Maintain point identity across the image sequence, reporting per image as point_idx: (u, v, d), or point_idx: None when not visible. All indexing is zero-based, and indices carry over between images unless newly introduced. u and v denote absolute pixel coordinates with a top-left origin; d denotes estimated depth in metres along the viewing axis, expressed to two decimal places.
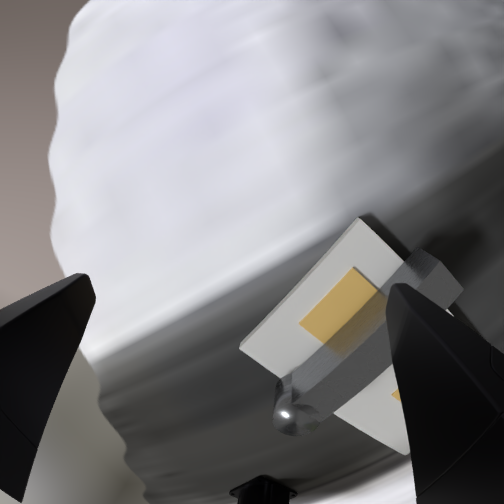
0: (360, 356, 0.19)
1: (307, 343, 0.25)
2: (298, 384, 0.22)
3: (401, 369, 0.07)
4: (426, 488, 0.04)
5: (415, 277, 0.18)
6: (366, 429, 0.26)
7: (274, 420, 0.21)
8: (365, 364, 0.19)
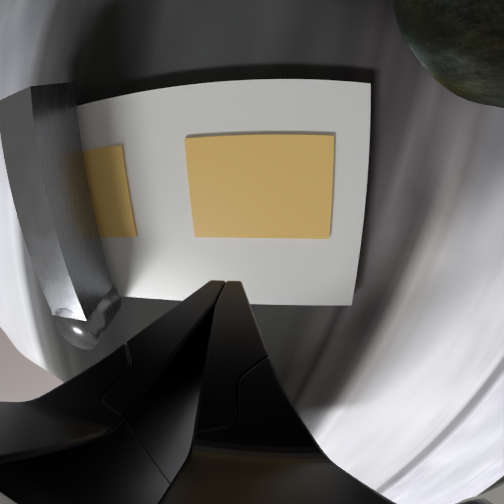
0: (29, 233, 0.15)
1: None
2: None
3: None
4: None
5: None
6: None
7: (66, 339, 0.19)
8: (38, 236, 0.15)
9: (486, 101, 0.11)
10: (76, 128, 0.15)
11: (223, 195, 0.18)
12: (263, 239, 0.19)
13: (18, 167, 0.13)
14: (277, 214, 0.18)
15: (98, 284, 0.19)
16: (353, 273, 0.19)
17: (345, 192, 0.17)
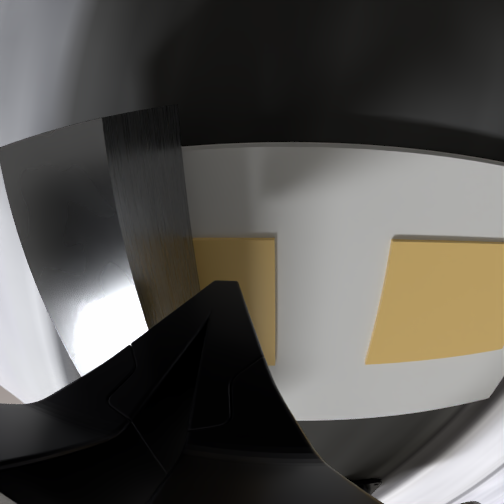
0: None
1: None
2: None
3: None
4: None
5: None
6: (379, 413, 0.15)
7: None
8: None
9: None
10: (184, 204, 0.09)
11: (421, 318, 0.11)
12: (443, 358, 0.12)
13: (77, 310, 0.07)
14: (469, 333, 0.11)
15: None
16: (503, 372, 0.13)
17: None
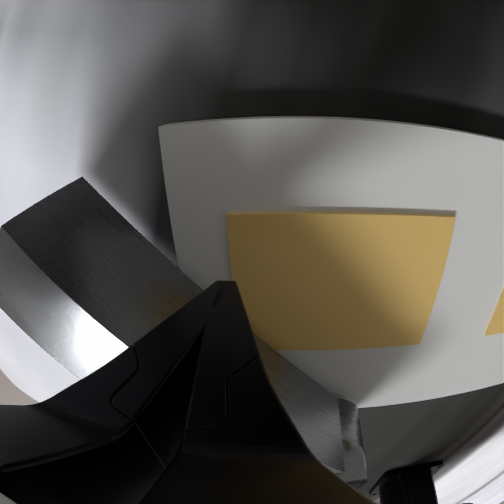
0: None
1: None
2: None
3: None
4: None
5: None
6: (477, 385, 0.14)
7: None
8: None
9: None
10: (138, 238, 0.10)
11: None
12: None
13: (90, 365, 0.08)
14: None
15: (326, 416, 0.12)
16: None
17: None
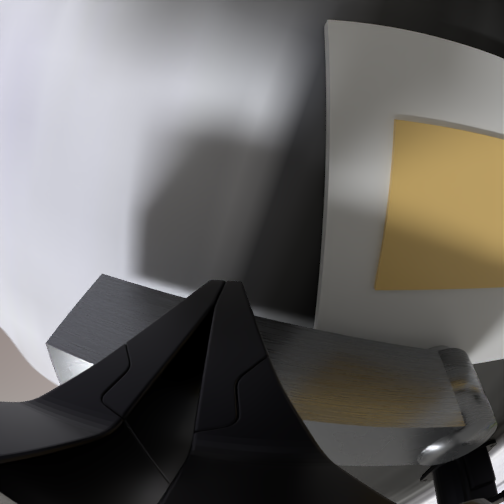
0: None
1: (412, 305, 0.11)
2: None
3: None
4: None
5: None
6: None
7: (457, 457, 0.09)
8: None
9: None
10: (169, 299, 0.11)
11: None
12: None
13: None
14: None
15: (427, 376, 0.10)
16: None
17: None
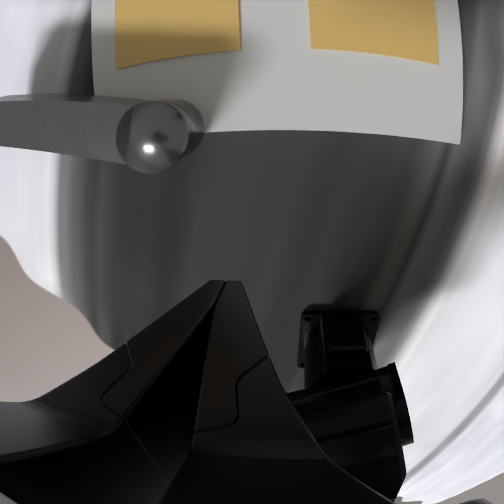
0: (41, 140, 0.14)
1: (143, 76, 0.17)
2: None
3: None
4: None
5: None
6: (343, 124, 0.17)
7: (165, 166, 0.14)
8: (44, 126, 0.14)
9: None
10: None
11: (342, 10, 0.13)
12: (380, 57, 0.15)
13: (3, 129, 0.14)
14: (393, 34, 0.14)
15: (134, 100, 0.15)
16: (459, 106, 0.15)
17: (445, 27, 0.13)
